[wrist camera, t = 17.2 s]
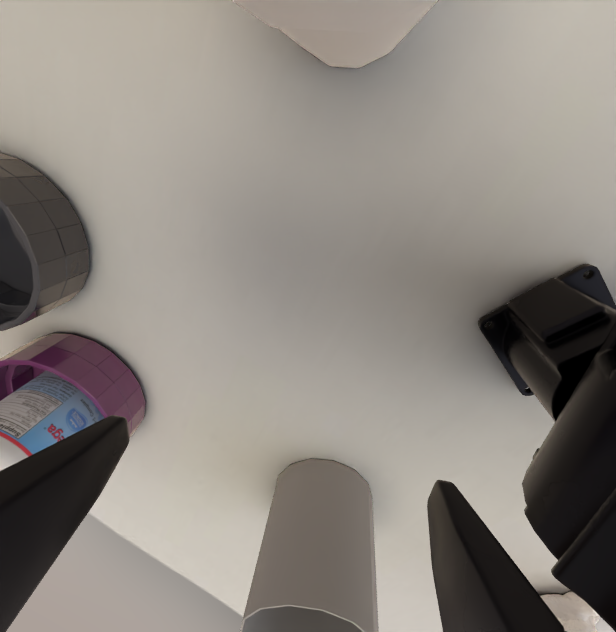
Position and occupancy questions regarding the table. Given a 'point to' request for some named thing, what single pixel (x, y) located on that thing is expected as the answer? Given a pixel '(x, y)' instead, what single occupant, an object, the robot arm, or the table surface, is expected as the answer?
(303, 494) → the cup
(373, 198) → the table surface
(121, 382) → the plum bowl
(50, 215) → the charcoal bowl
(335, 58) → the foam cup
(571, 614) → the white figurine
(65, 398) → the pill bottle
